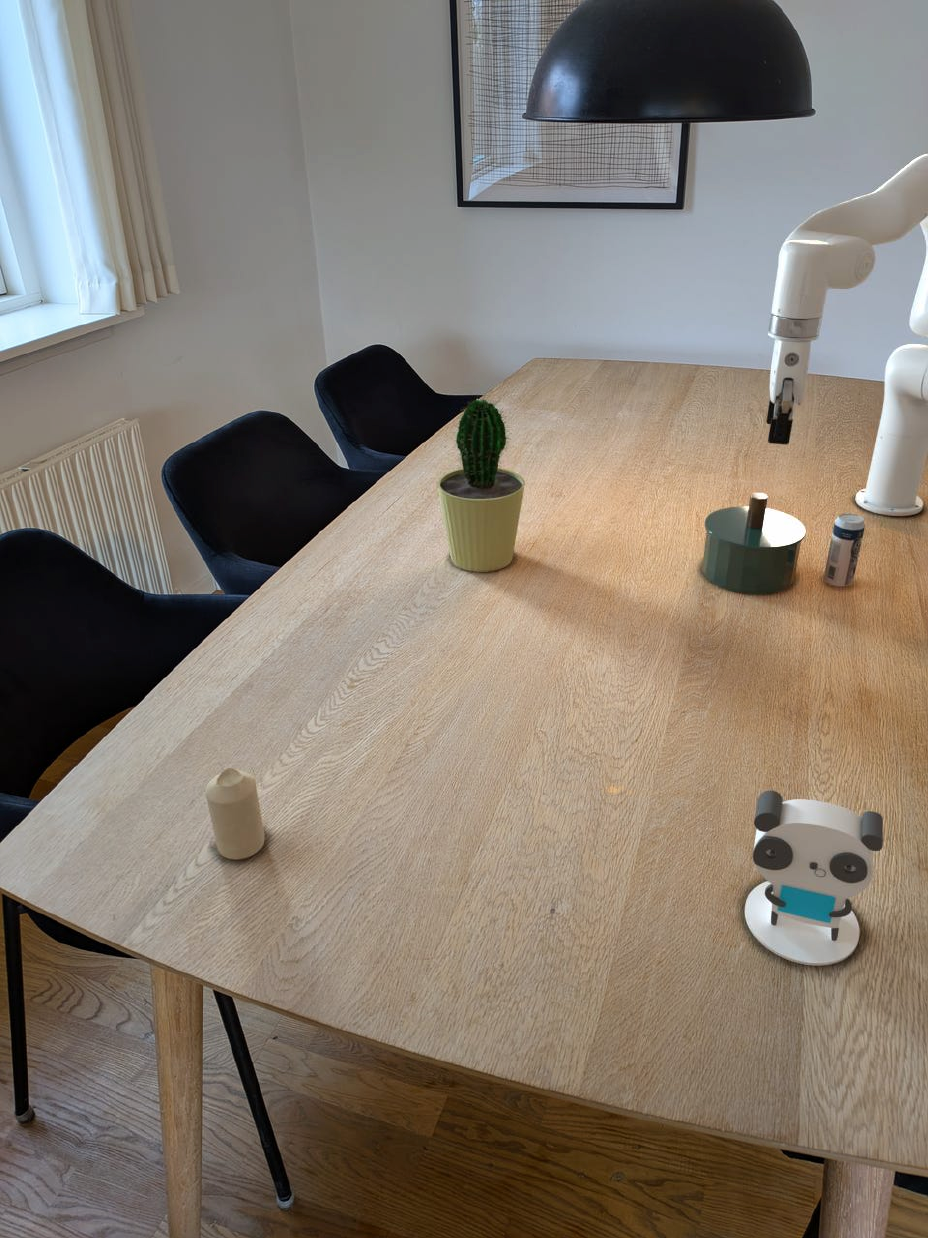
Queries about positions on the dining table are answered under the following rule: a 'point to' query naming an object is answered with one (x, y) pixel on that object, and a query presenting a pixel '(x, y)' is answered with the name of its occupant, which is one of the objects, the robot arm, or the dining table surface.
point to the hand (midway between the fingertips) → (777, 433)
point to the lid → (755, 526)
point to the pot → (749, 567)
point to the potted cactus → (481, 494)
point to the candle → (235, 814)
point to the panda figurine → (810, 877)
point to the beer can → (844, 550)
